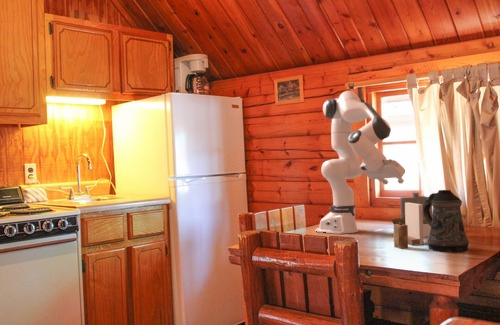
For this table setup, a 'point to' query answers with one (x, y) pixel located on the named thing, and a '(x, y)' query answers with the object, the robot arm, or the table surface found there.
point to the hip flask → (414, 199)
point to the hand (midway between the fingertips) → (394, 182)
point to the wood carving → (425, 224)
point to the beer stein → (445, 223)
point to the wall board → (414, 223)
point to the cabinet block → (400, 235)
